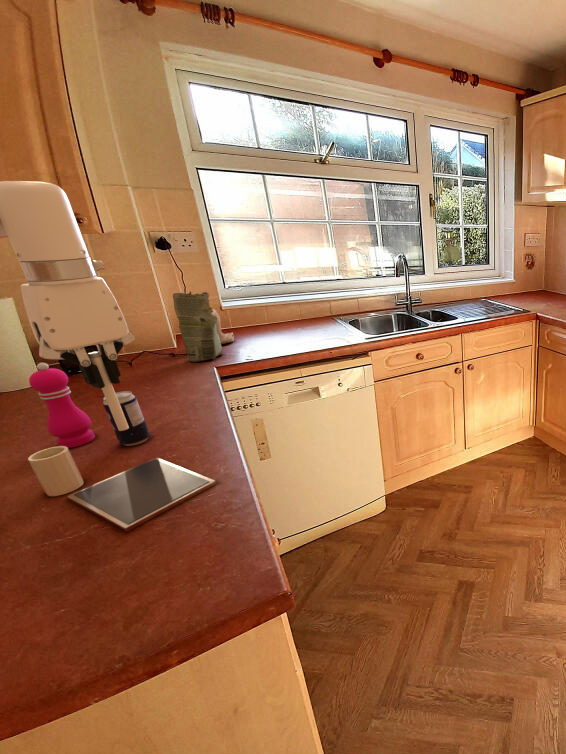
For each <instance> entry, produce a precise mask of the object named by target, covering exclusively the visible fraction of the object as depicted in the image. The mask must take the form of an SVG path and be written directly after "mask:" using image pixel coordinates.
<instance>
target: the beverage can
mask: <svg viewBox="0 0 566 754" xmlns="http://www.w3.org/2000/svg"><path fill="white" fill-rule="evenodd" d="M115 393H116V396H117V398H118V401H119V403H120V406H121V408H122V411H123V413H124V416H125V418H126V421H127V424H128V426H129V428H128V429H126V430H123V431H119V430H118V427H117V425H116V423H115V420H114V418H113V415H112V413H111V410H110V408H109V405H108V403H107V400H106V398H105V396H104V397H103V398H102V400H103V403H102V405H103V408H104V411H105V413H106V415H107V417H108V420H109V422H110V424H111V427H112V429H113V432H114V434H115V436H116V438H117V441H118V443H119V444H121V445H124V446H126V447H131V446H133V447H134V446H136V445H140V444H143V443H144V442H146V441H147V440H148V438H149V437H150V435H151V433H150V430H149V427H148V425H147V422H146V421H145V417H144V415H143V412H142V409H141V407H140V405H139V402H138V399H137V397H136V396H135V395H134V394H133V393H132V391H129V390H126V391H124V390H123V391H118V392H115Z"/></svg>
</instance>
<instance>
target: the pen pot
mask: <svg viewBox="0 0 566 754" xmlns="http://www.w3.org/2000/svg"><path fill="white" fill-rule="evenodd" d="M70 451H71V450H70V448H68V447H66V446H59V445H57V446H52V447H48V448H45V449H42V450H39V451H36V452H35V453H33V454H31V455H29V456H28V458H27V461H28V463H29V465H30V467H31V468H32V470H33V472H34V474H35V476H36V478H37V480H38V482H39V484H40V486H41V487H42V490H43V491H44V493H45V494H46V495H47V496H48V497H57V496H63V495H67V494H70V493H71V492H75V491H77V489H79V488H80V487H82V486H83V485H84V483H85V482H84V478H83V477H82V475H81V472H80V470H79V468H78V466H77V464H76V461H75V459H74V457H73V456H72V455H73V454H72V453H71V452H70Z"/></svg>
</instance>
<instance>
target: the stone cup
mask: <svg viewBox="0 0 566 754" xmlns="http://www.w3.org/2000/svg"><path fill="white" fill-rule="evenodd" d="M211 313H212V316H216V317H217V323H216V330H217V333H218V334H219V338H220V344H221V345H224V344H229V343H233V342H235V341H234V340H235V336H234V333H233V332H227V333H223V332H222V323H221V322H222V321H221V317H220V315H219V313H218V312H217V310H216V309H214V308H213V309H212V311H211Z"/></svg>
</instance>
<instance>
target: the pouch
mask: <svg viewBox="0 0 566 754" xmlns="http://www.w3.org/2000/svg"><path fill="white" fill-rule="evenodd" d="M209 295H210V293H209V292H207V291H204V292H202V293H195V294H194V293H193V294H192V291H189V293H183V292H175V293H174V292H173V293H172V300H173V308H174V312H175V315H176V318H177V319H178V328H179V331H180V334H181V339H182V341H183V346H184V348H185V352H186V356H187V359H188V361H191V362H192V363H193V362H194V363H195V362H203V361H208V360H215V359H216V357H218V356H223V355H224V353H223V346H222V344H220V338H219V334H218V333H217V330H216V323H217V317H216V316H212V313H211V311H212V309H214V308H213V307H211V306H210V299H209V297H210V296H209Z"/></svg>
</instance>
